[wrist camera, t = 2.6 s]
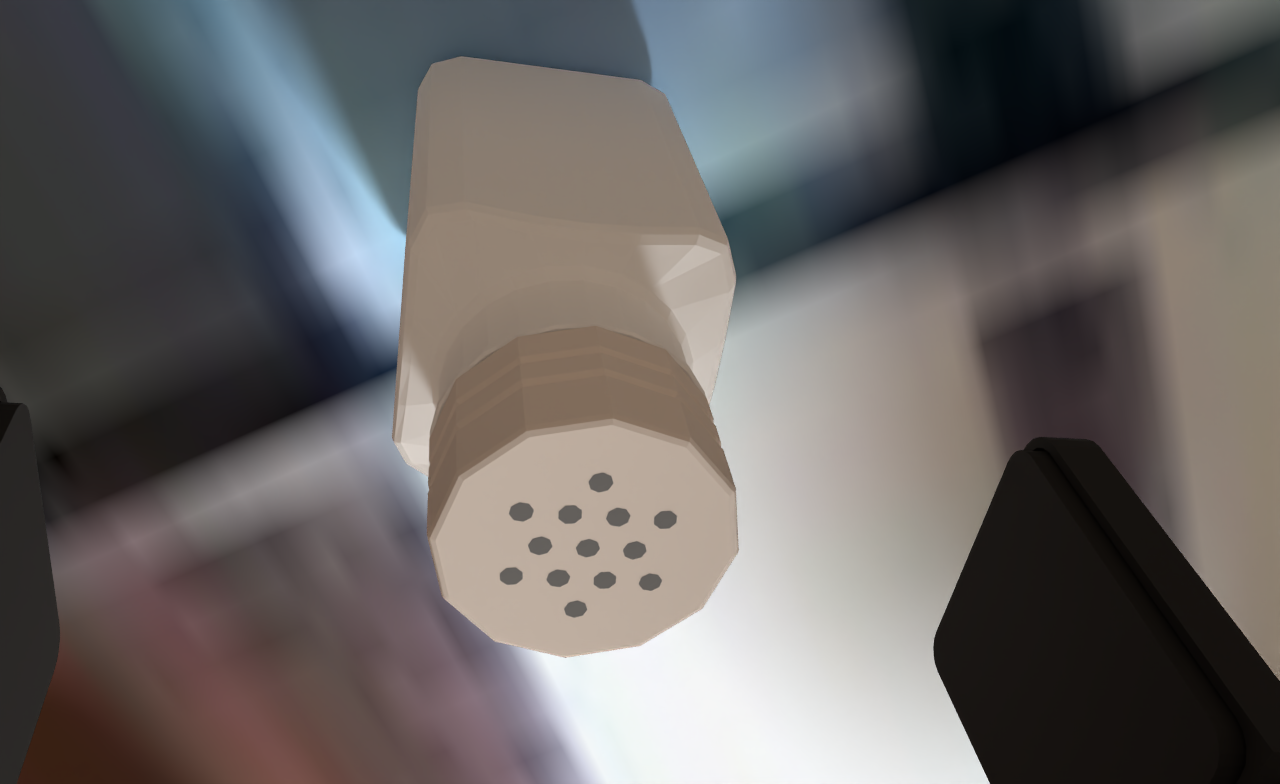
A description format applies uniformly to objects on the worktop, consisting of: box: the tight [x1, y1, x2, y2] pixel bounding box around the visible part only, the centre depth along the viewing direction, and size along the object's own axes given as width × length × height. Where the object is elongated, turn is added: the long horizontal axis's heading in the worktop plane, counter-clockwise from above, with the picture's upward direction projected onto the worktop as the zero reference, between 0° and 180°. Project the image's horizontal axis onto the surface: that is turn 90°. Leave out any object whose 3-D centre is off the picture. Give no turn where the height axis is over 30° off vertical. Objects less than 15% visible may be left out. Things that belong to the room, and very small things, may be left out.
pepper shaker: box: [392, 56, 739, 658], centre depth 16 cm, size 4×4×10 cm
